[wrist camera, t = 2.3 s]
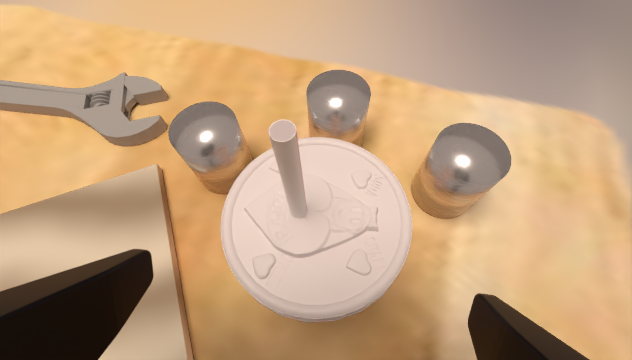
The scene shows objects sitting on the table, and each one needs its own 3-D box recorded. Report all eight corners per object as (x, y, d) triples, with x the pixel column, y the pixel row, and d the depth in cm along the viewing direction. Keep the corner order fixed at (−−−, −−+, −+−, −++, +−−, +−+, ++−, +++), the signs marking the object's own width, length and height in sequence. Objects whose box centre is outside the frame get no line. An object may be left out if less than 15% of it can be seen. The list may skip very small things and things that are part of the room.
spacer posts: (473, 221, 19) (517, 188, 15) (193, 190, 21) (158, 152, 17) (461, 130, 23) (494, 81, 18) (222, 109, 24) (200, 60, 20)
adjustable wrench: (-95, 103, 26) (-122, 89, 25) (-39, 56, 29) (-60, 40, 28) (152, 154, 23) (139, 141, 21) (187, 95, 26) (178, 79, 24)
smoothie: (276, 218, 20) (198, 24, 7) (371, 225, 19) (455, 33, 7) (259, 323, 17) (82, 288, 4) (371, 334, 16) (516, 330, 4)
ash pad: (204, 423, 15) (198, 428, 14) (-172, 598, 12) (-202, 615, 12) (161, 169, 22) (156, 163, 21) (-82, 248, 19) (-97, 245, 19)
